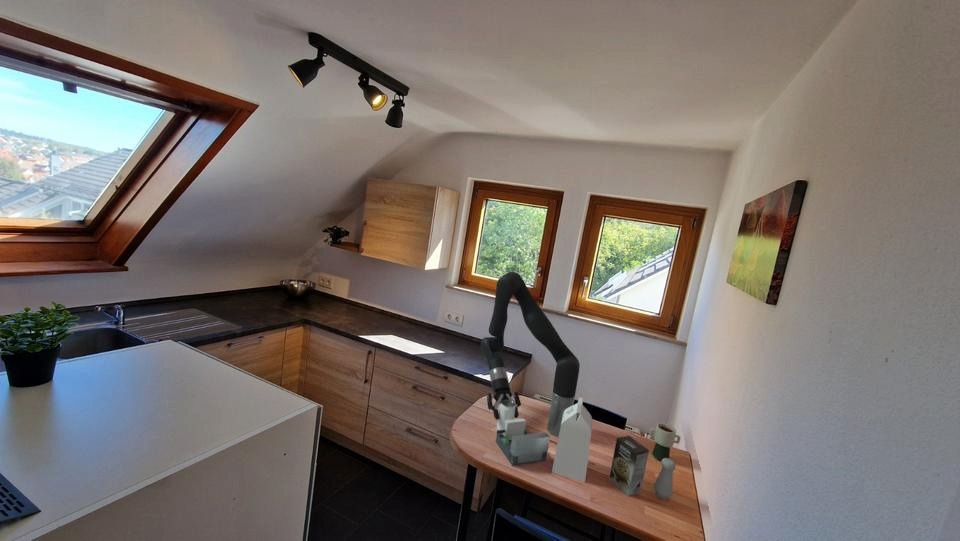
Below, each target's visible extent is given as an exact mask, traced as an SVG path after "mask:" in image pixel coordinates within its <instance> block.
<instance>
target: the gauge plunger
mask: <svg viewBox="0 0 960 541" xmlns="http://www.w3.org/2000/svg"><path fill="white" fill-rule="evenodd" d="M525 429H526V420H525V418H524V417H523V418H514V419H512V420H505V427H504V430H497V429H496V435H497V434H498V433H502V434H503V433H504V434H503V435H504V436H505V438H506V439H507V440H508V441H509V440H512V436H518V435H524V430H525Z"/></svg>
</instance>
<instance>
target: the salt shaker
mask: <svg viewBox="0 0 960 541" xmlns="http://www.w3.org/2000/svg"><path fill="white" fill-rule="evenodd" d="M660 464H661V466H662V467H661V469H660V472H659V473H658V475H657V478H656V479H655V482H654V483H653V489H654V493H655V495H656V496H657V497H658V498H659V499H662V500H668V499H670V497H671V496H672V495H673V493H674V492H673V489H674V488H673V485H674V484H673V479H674V474H673V473H674V472H673V471H675V470H676V462H675V461H674V460H673V459H670V458H669V459H668V458H664V459H662V461H661V463H660Z"/></svg>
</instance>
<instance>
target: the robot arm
mask: <svg viewBox="0 0 960 541" xmlns="http://www.w3.org/2000/svg"><path fill="white" fill-rule="evenodd" d="M495 287H496V288H495V298H494V306H493V311H492V315H491V319H490V323H489V325H488V326H489V327H488V333H489V334H490V336H487V337H486V336H485V337H483V338H482V339H481V340H480V349H481V351H482V353H483V356H484V357H485V359H486V362H487V365H488V370H489V378H490V379H489V380H490V384H491V389H492V393H488V394H487V395H486V401H487V402H486V403H487V404H486V405H487V409H488V410H489V411H490V410H492V412H493V417H494V419H495V420H496V421H498V419H499V408H498V407H499V406H500V404H501V401H503V400H510V401H513V402H514V403H515V414H514V419H518V418H519V415H520V414H519V410H518V408H519V407H521V406H522V403H521V399H520V395H519V391H515V392H512V391H511V387H510V381H509V377H508V373H507V370H506V366H505V361H504V358H503V356H501V355H497V353H498V354H499V353H501V352H502V351H503V350H504V348H505V341H504V340H505V336H504V335H505V330H506V327H507V323H508V317H509V316H508V308H509V304H510V302H511V299H512V298H513V297H514V298H515V300H516V301H517V303H518V305H519V307H520V310H521V314H522V318H523V321H524V323H525V325H526V327H527V328H528V330H529V331H530V333H531V334H532V336H533V337H534V338H535V339H536V340H537V341H538V342H539V343H540V344H542V345H543V346H544V347H545V348H546V349H547V350H548V352H549V353H550V354H551V357H552V358H553V359H554V360H555V362H556V366H555V370H554V371H555V372H554V379H553V388H552V393H551V400H550V401H551V402H550V407H549V408H550V409H549V413H548V421H547V426H546V430H547V431H548V432H549V433H550V434H551V435H553V436H556V437H559V433H560V427H561V422H562V417H563V413H564V410H565V409H567V408H569V407H571V406H573V405H575V404H574V403H575V398H576V392H577V386H578V380H579V374H580V361H579V359H578V358H577V356H576V355H575V354H574V352H572V351H571V349H570V348H569V347H568V346H567V345H566V344H565V342H564V341H563V339H562V338H561V336H560V335H559V332H557V330H556V328H555V326H553V323H552V322H551V320H550V319H549V318H548V316H547V315H546V313H545V312H544V311H543V310H542V309H541V307H540V306H539V304H538V302H537V301H536V300H535V298H534V297H533V295H532V294H531V292H530V290H529V288H528V286H527V285H526V283H525V281H524V280H523V278H522V276H521V275H520V274H518V272H515V271H509V272H507V273H505V274H503V275H501V276H500V277H499V278H498V280H497V282H496V286H495ZM493 399H494V400H495V401H494V403H493Z"/></svg>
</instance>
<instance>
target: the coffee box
mask: <svg viewBox="0 0 960 541" xmlns="http://www.w3.org/2000/svg"><path fill="white" fill-rule="evenodd" d="M615 441H616V442H615V446H614V452H613V457H612V463H611V467H610V472H609V478H608V480H610V482H612V483H613V484H614V485H615V486H616V487H618V488H619V489H620V490H621V491H622V492H623V493H624V494H625V495H626V496H627V497H629V496H633V495H637V494H640V493H641V492H642V487H643V481H644V477H645V473H646V466H647V463H648V458H649V454H650V450H649V449H648V448H647V447H645V446H644V445H643V444H642V443H640V442H639V441H637V440H636V439H635V438H633V437H632V436H630V435H626V436H625V435H624V436H620V437H617V438H616V440H615Z"/></svg>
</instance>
